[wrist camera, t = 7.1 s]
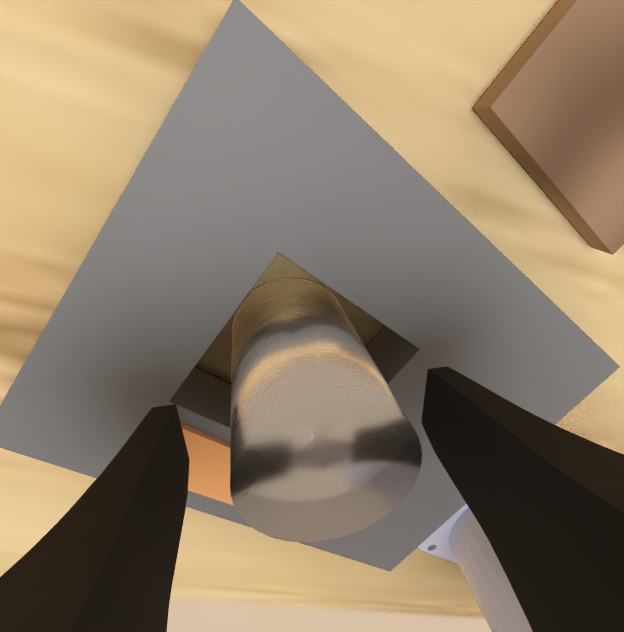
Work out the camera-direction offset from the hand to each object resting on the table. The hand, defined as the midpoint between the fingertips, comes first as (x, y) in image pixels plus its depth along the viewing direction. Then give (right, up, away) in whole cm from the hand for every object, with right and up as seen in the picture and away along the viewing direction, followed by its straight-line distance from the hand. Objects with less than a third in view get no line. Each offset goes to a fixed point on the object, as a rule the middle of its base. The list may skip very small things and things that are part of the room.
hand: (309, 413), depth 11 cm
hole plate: (+1, +1, +5) cm, 5 cm away
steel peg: (-1, +2, +4) cm, 5 cm away
